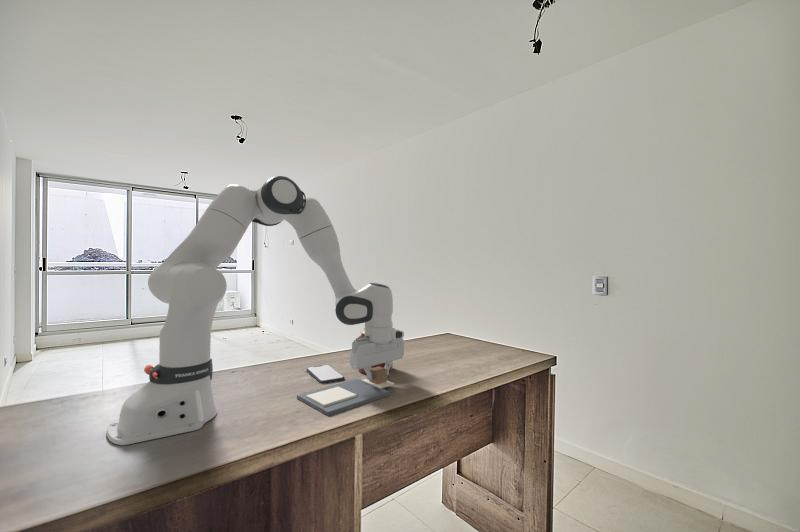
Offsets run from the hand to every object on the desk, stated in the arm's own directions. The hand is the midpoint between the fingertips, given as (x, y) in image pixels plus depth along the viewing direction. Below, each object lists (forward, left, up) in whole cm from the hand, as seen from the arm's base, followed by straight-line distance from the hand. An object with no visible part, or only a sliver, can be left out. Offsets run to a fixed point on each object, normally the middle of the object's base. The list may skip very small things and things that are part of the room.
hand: (377, 377), depth 118 cm
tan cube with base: (0, 0, -2) cm, 2 cm away
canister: (+11, +14, -3) cm, 18 cm away
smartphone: (-6, +21, -4) cm, 22 cm away
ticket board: (-13, 0, -3) cm, 13 cm away
